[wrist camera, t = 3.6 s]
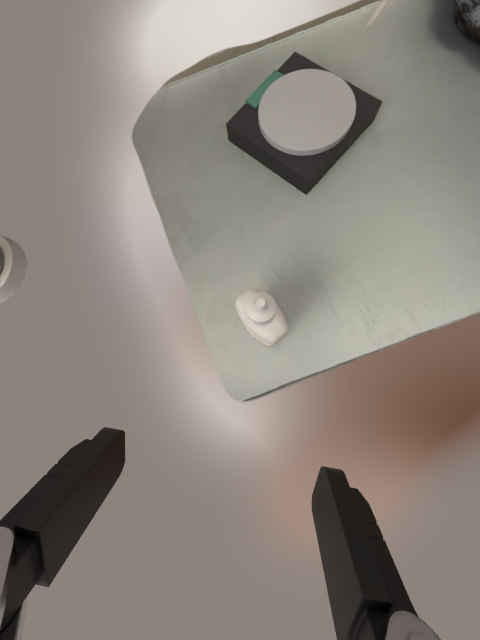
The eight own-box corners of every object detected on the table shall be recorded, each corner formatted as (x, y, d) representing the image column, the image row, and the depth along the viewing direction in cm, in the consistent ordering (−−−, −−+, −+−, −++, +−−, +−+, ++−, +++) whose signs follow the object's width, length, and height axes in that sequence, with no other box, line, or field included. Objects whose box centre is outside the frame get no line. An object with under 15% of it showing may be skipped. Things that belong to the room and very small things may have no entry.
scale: (228, 139, 33) (224, 117, 30) (292, 72, 34) (295, 43, 31) (306, 194, 31) (311, 176, 28) (373, 120, 31) (385, 94, 28)
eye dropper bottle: (249, 351, 28) (239, 347, 16) (239, 307, 29) (223, 274, 17) (284, 343, 28) (300, 333, 16) (273, 299, 29) (280, 259, 17)
